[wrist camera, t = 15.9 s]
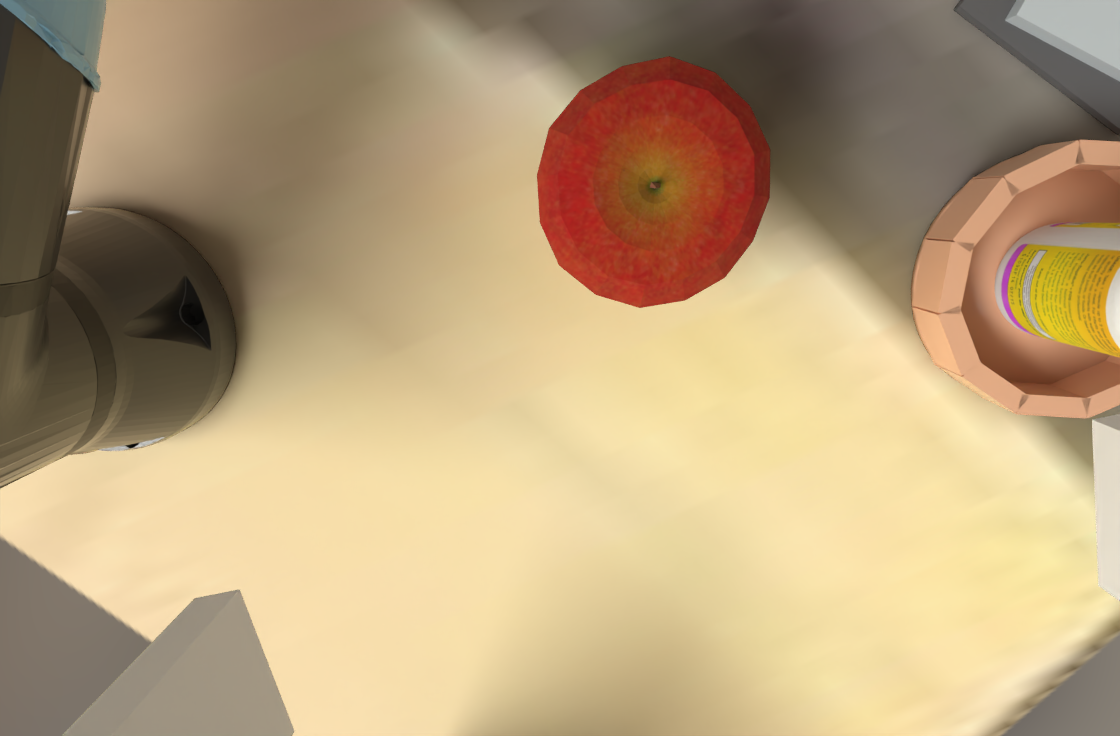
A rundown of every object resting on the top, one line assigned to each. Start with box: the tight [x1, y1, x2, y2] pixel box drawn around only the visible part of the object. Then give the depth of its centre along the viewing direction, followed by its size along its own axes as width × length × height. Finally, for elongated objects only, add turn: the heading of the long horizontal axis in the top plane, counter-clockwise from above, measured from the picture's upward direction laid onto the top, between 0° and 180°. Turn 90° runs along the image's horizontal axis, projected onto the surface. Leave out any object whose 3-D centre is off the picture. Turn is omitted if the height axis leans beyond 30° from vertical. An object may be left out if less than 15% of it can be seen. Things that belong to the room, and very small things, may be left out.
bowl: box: [911, 140, 1120, 418], centre depth 37 cm, size 15×15×4 cm
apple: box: [537, 56, 770, 308], centre depth 33 cm, size 11×11×12 cm
